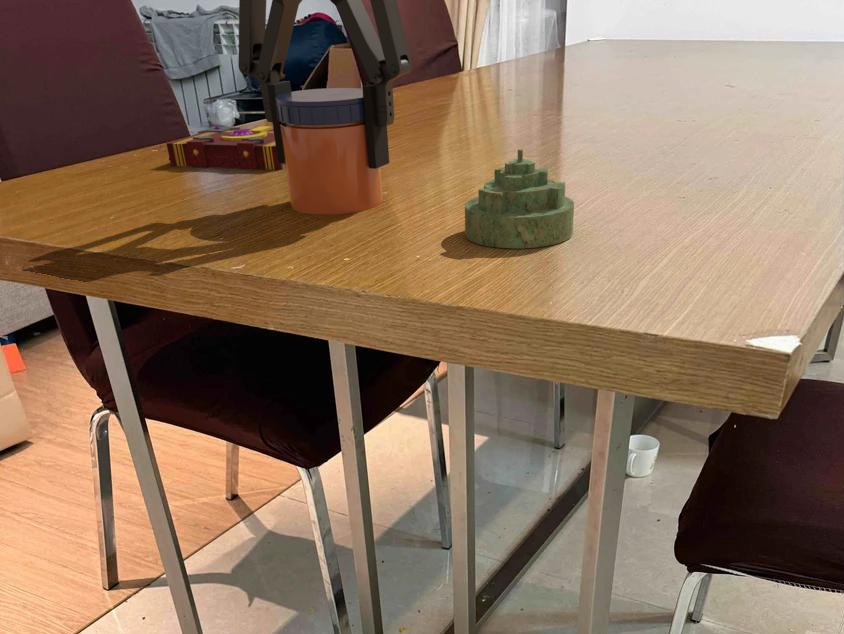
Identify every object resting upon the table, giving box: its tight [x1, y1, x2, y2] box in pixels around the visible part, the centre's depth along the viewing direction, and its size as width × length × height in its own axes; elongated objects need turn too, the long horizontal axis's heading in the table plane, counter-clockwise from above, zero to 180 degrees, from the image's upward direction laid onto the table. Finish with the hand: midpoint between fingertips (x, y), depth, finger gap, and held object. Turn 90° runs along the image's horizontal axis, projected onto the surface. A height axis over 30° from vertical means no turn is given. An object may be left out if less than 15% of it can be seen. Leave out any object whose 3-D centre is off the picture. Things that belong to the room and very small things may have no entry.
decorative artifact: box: [464, 148, 575, 250], centre depth 76 cm, size 10×7×10 cm
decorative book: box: [166, 125, 286, 171], centre depth 102 cm, size 11×16×5 cm
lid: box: [275, 87, 365, 125], centre depth 77 cm, size 9×9×2 cm
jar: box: [280, 120, 384, 215], centre depth 80 cm, size 9×9×10 cm
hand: (333, 163), depth 80 cm, fingers closed on lid, 9 cm apart
